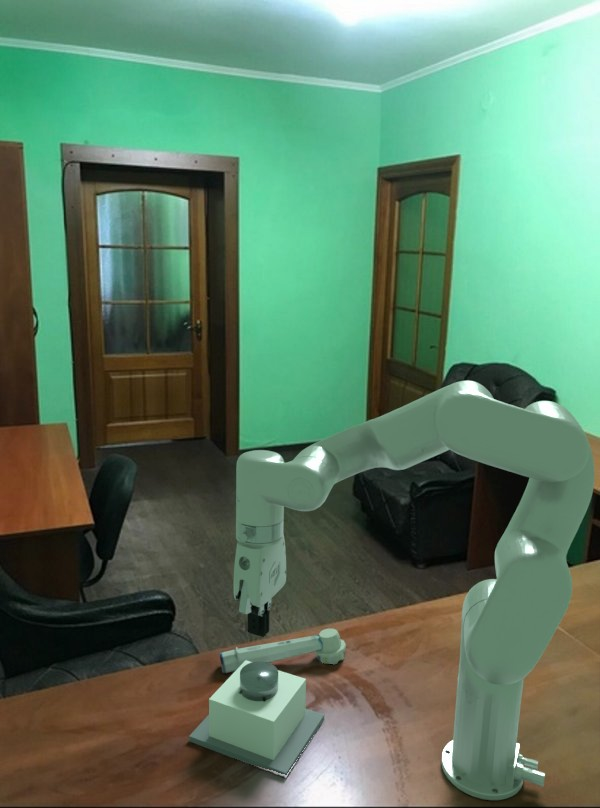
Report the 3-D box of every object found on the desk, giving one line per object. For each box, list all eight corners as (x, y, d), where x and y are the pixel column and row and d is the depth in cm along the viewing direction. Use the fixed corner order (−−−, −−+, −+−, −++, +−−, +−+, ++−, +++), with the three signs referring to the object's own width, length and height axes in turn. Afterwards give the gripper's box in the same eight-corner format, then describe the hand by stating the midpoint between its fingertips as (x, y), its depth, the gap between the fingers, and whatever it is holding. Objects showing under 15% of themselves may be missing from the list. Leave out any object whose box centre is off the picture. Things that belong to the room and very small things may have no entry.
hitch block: (324, 719, 115) (325, 679, 113) (286, 778, 102) (286, 733, 100) (235, 689, 122) (235, 651, 121) (189, 741, 109) (188, 698, 107)
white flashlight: (218, 646, 130) (339, 618, 134) (222, 675, 131) (342, 646, 136) (220, 661, 125) (346, 632, 129) (225, 691, 126) (349, 661, 131)
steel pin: (284, 714, 113) (284, 667, 111) (266, 737, 107) (267, 689, 105) (251, 703, 116) (251, 657, 114) (232, 725, 110) (232, 678, 108)
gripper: (257, 551, 96) (256, 663, 100) (301, 517, 109) (298, 616, 113) (214, 541, 99) (214, 649, 103) (261, 508, 112) (260, 606, 116)
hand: (258, 632), depth 108 cm, fingers closed
